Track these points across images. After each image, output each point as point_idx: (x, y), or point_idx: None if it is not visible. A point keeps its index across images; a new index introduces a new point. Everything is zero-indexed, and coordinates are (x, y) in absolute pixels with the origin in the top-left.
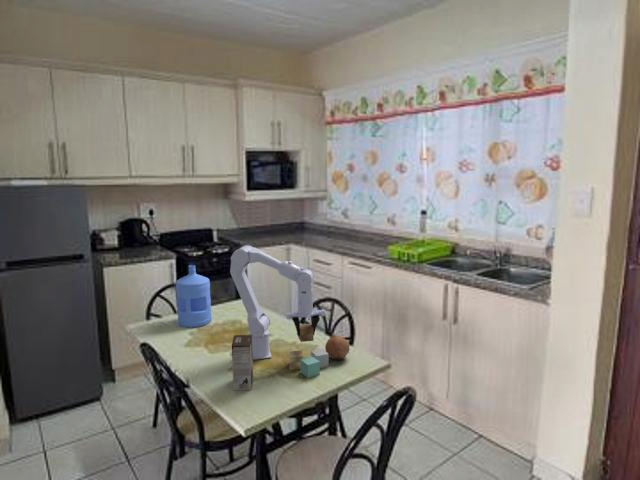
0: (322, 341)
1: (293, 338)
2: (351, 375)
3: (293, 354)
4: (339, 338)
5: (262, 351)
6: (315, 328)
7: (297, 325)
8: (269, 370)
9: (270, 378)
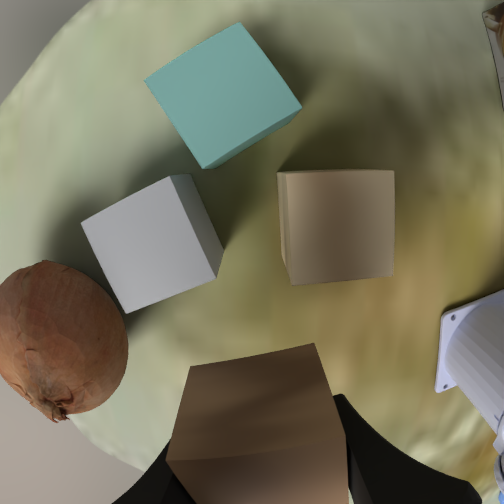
0: None
1: None
2: (22, 110)
3: (363, 213)
4: (2, 355)
5: (494, 319)
6: (150, 466)
7: (399, 474)
8: (455, 168)
9: (441, 79)
